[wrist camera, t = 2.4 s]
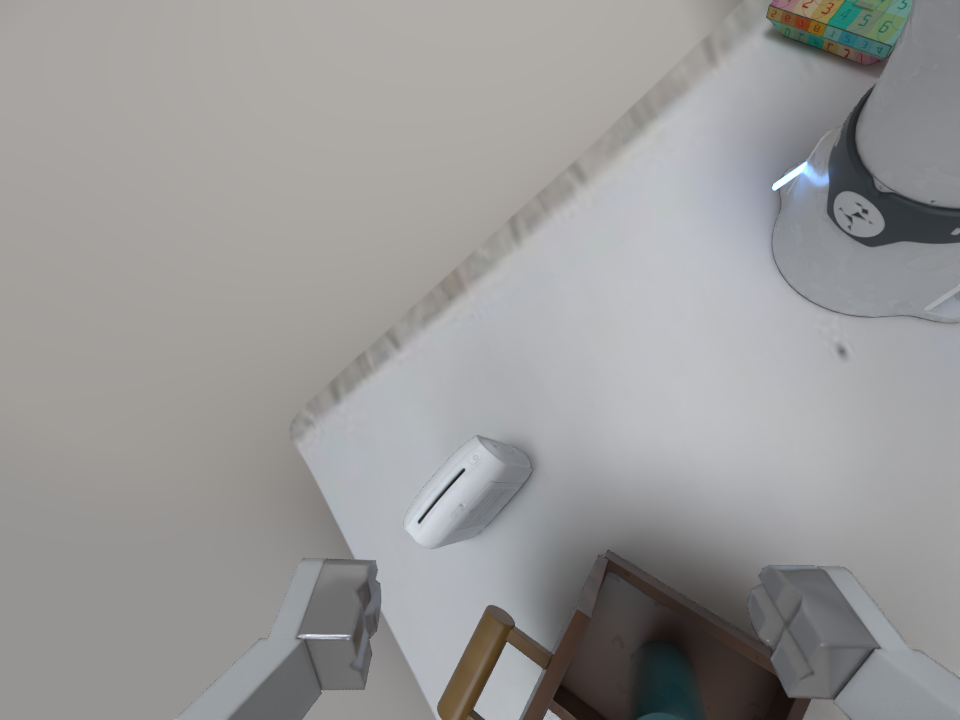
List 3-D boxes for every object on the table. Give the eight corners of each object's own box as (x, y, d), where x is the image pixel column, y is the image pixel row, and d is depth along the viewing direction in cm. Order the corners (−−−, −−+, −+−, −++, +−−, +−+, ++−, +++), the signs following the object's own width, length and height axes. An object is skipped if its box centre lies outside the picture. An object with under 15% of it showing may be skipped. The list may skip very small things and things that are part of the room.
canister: (669, 628, 37) (679, 695, 26) (713, 695, 35) (745, 802, 24) (616, 659, 38) (601, 737, 26) (656, 726, 36) (659, 845, 24)
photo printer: (510, 437, 47) (466, 423, 36) (541, 467, 45) (505, 461, 34) (445, 511, 47) (382, 521, 36) (473, 544, 45) (415, 564, 34)
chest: (799, 666, 35) (816, 687, 31) (728, 822, 34) (738, 863, 30) (608, 549, 41) (604, 556, 38) (545, 679, 40) (535, 698, 37)
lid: (591, 618, 22) (503, 559, 24) (470, 869, 21) (388, 787, 23) (608, 559, 37) (553, 526, 39) (538, 704, 36) (485, 662, 38)
